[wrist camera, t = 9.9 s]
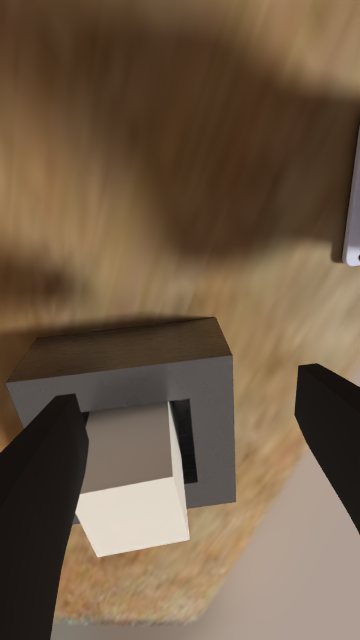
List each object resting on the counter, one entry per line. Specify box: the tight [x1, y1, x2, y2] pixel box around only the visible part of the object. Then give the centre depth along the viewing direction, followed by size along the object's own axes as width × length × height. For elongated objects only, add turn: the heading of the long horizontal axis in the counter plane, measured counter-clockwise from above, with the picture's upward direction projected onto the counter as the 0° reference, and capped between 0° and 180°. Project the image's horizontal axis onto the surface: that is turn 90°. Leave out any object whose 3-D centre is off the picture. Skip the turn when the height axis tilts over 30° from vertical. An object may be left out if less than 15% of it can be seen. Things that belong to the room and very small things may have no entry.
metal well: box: [6, 318, 236, 524], centre depth 20 cm, size 11×11×4 cm
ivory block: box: [75, 401, 190, 557], centre depth 17 cm, size 4×4×8 cm
